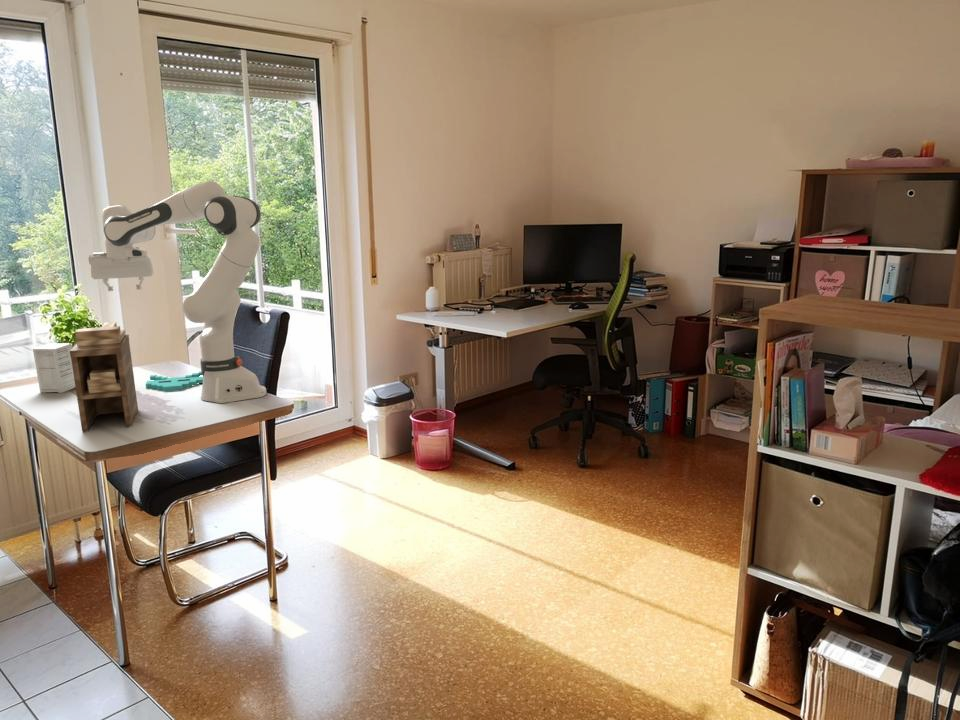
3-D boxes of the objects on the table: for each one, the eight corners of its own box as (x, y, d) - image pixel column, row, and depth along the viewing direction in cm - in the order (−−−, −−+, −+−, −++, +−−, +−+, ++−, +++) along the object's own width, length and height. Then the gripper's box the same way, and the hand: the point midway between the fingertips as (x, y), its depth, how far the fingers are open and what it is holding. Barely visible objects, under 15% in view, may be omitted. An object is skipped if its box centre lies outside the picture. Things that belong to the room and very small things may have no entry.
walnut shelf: (138, 409, 253) (128, 334, 246) (131, 427, 234) (120, 347, 228) (92, 413, 248) (81, 337, 242) (82, 432, 230) (69, 351, 224)
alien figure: (151, 380, 290) (143, 394, 272) (150, 375, 290) (142, 388, 271) (205, 376, 296) (201, 389, 277) (204, 371, 295) (200, 383, 276)
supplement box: (79, 386, 282) (72, 343, 278) (62, 393, 273) (55, 348, 269) (56, 385, 283) (49, 342, 279) (39, 392, 275) (31, 348, 270)
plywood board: (130, 326, 260) (128, 314, 258) (119, 342, 234) (117, 328, 233) (92, 329, 256) (90, 316, 255) (77, 346, 230) (75, 331, 229)
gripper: (86, 254, 259) (91, 293, 262) (149, 251, 265) (154, 289, 269) (89, 252, 265) (94, 290, 268) (151, 249, 271) (155, 287, 274)
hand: (124, 290), depth 269 cm, fingers open, 8 cm apart
